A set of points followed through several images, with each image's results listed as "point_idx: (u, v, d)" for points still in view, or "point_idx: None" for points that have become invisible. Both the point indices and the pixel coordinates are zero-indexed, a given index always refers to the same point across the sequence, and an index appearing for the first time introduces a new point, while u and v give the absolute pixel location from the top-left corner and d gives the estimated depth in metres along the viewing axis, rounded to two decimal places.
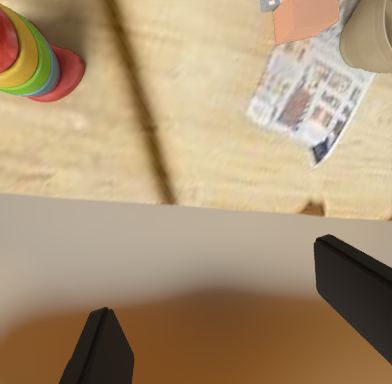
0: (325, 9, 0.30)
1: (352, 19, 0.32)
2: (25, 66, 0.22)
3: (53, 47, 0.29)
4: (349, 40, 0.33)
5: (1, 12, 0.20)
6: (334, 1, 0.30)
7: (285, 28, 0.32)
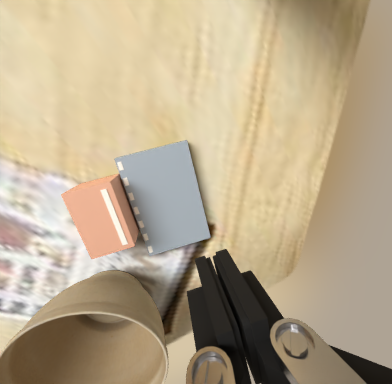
0: (99, 236, 0.21)
1: (103, 277, 0.24)
2: None
3: None
4: (81, 281, 0.24)
5: None
6: (112, 246, 0.22)
7: (80, 186, 0.22)
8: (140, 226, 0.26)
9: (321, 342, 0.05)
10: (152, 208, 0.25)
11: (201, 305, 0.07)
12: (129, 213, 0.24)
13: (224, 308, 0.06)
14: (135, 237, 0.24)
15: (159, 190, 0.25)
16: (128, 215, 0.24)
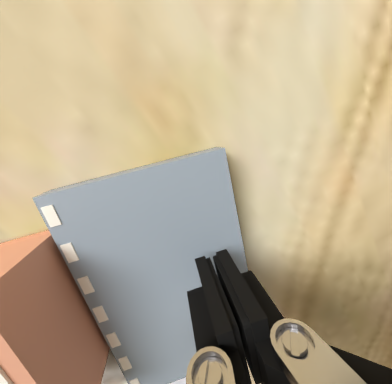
0: None
1: None
2: None
3: None
4: None
5: None
6: None
7: None
8: (111, 344, 0.11)
9: (321, 342, 0.05)
10: (139, 305, 0.11)
11: (201, 305, 0.07)
12: (79, 331, 0.10)
13: (224, 309, 0.06)
14: None
15: (155, 267, 0.10)
16: (75, 342, 0.09)
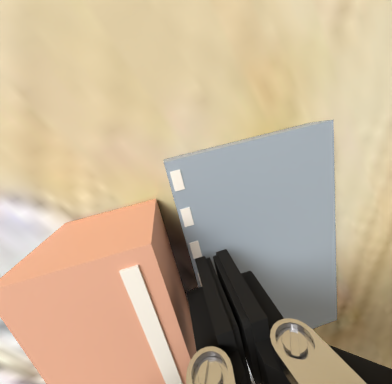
0: None
1: None
2: None
3: None
4: None
5: None
6: None
7: (59, 245, 0.08)
8: None
9: (321, 342, 0.05)
10: None
11: (201, 305, 0.07)
12: (180, 296, 0.10)
13: (224, 309, 0.06)
14: None
15: (256, 234, 0.11)
16: (181, 304, 0.10)
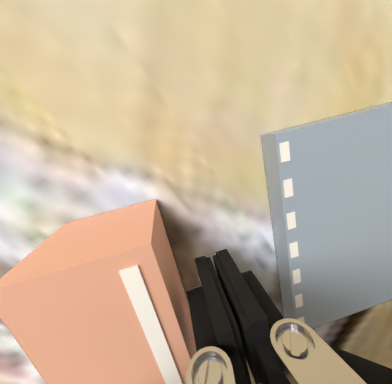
0: None
1: None
2: None
3: None
4: None
5: None
6: None
7: (59, 245, 0.08)
8: (294, 281, 0.12)
9: (321, 343, 0.05)
10: (323, 244, 0.12)
11: (201, 305, 0.07)
12: (180, 296, 0.10)
13: (224, 309, 0.06)
14: None
15: (345, 207, 0.12)
16: (181, 304, 0.10)
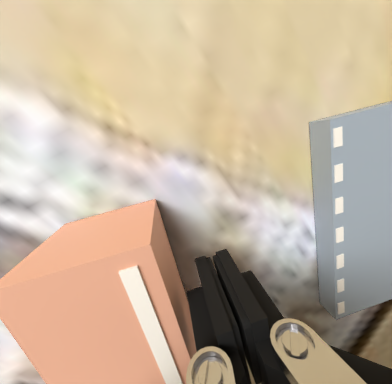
0: None
1: None
2: None
3: None
4: None
5: None
6: None
7: (58, 246, 0.08)
8: (337, 265, 0.13)
9: (321, 342, 0.05)
10: (367, 229, 0.12)
11: (201, 305, 0.07)
12: (180, 296, 0.10)
13: (224, 309, 0.06)
14: None
15: (390, 192, 0.12)
16: (181, 304, 0.10)
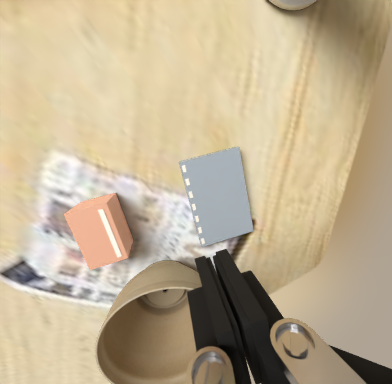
0: (97, 250, 0.24)
1: (169, 264, 0.28)
2: None
3: None
4: (149, 267, 0.28)
5: None
6: (108, 258, 0.25)
7: (80, 206, 0.25)
8: (196, 220, 0.30)
9: (321, 342, 0.05)
10: (207, 205, 0.29)
11: (201, 305, 0.07)
12: (123, 228, 0.27)
13: (224, 309, 0.06)
14: (129, 249, 0.27)
15: (213, 189, 0.29)
16: (123, 230, 0.27)
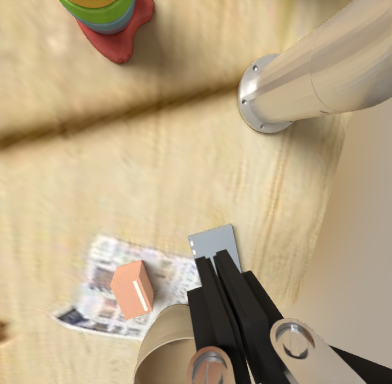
0: (131, 307, 0.35)
1: (181, 312, 0.38)
2: None
3: (127, 32, 0.27)
4: (166, 314, 0.38)
5: None
6: (138, 312, 0.35)
7: (119, 275, 0.35)
8: None
9: (321, 342, 0.05)
10: None
11: (201, 305, 0.07)
12: (148, 287, 0.38)
13: (224, 309, 0.06)
14: (152, 303, 0.37)
15: None
16: (148, 289, 0.37)
